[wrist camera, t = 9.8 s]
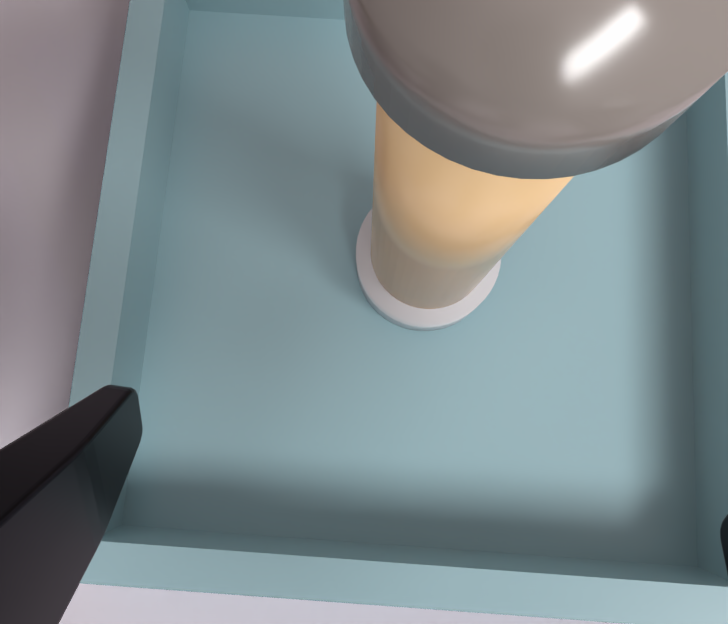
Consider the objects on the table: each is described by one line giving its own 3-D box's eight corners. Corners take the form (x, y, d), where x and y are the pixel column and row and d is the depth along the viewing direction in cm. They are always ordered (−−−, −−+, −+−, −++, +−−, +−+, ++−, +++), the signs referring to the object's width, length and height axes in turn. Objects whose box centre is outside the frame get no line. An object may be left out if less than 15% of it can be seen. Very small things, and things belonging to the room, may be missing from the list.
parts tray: (714, 597, 17) (787, 635, 14) (97, 551, 17) (42, 580, 14) (698, 34, 20) (755, -31, 17) (172, 1, 20) (139, -68, 17)
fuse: (429, 359, 17) (619, 206, 4) (328, 269, 18) (239, -102, 5) (517, 260, 18) (910, -133, 5) (416, 176, 18) (541, -384, 5)
